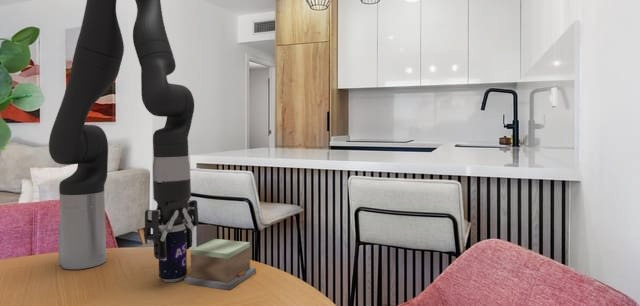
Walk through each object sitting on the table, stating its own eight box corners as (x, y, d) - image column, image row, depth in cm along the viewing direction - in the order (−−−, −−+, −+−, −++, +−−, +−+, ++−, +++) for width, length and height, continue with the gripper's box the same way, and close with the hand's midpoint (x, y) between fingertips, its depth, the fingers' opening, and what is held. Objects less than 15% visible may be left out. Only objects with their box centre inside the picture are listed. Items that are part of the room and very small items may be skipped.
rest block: (184, 283, 85) (183, 250, 85) (214, 266, 95) (213, 237, 95) (229, 290, 81) (229, 255, 81) (256, 272, 92) (255, 241, 91)
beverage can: (177, 284, 84) (177, 227, 84) (153, 282, 86) (152, 226, 85) (191, 275, 90) (191, 221, 89) (168, 273, 91) (167, 220, 90)
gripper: (179, 174, 94) (181, 243, 95) (132, 181, 81) (135, 261, 82) (206, 174, 92) (208, 245, 93) (163, 182, 79) (166, 264, 79)
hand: (174, 252), depth 87 cm, fingers open, 8 cm apart
